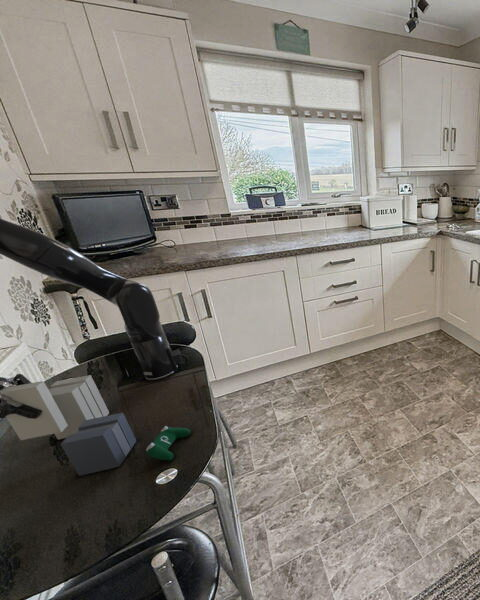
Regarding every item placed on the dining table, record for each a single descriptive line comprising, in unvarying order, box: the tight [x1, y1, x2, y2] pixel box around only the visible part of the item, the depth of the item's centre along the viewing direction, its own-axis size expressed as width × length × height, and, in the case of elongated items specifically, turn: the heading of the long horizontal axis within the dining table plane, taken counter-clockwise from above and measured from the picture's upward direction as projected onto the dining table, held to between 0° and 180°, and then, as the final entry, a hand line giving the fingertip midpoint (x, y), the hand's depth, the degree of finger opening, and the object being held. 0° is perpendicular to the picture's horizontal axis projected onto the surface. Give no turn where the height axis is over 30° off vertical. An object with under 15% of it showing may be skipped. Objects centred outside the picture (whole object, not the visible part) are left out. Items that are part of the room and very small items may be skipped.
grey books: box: [60, 412, 137, 477], centre depth 77 cm, size 8×8×9 cm
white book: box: [0, 380, 68, 441], centre depth 76 cm, size 2×8×13 cm, turn 105°
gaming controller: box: [145, 425, 191, 461], centre depth 79 cm, size 9×4×6 cm
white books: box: [48, 374, 110, 440], centre depth 88 cm, size 8×8×13 cm
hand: (43, 410), depth 76 cm, fingers closed on white book, 2 cm apart
